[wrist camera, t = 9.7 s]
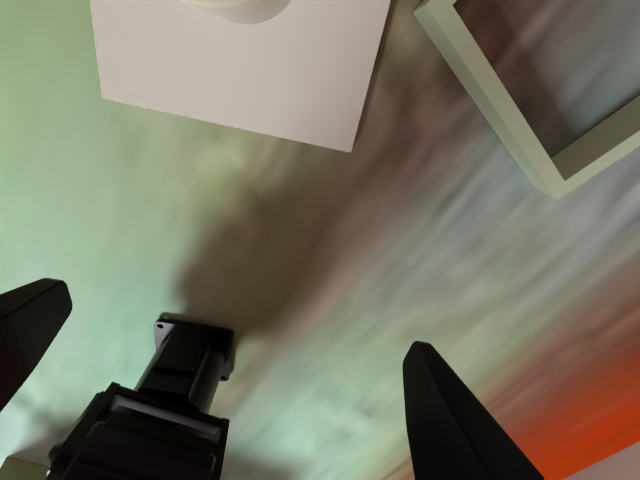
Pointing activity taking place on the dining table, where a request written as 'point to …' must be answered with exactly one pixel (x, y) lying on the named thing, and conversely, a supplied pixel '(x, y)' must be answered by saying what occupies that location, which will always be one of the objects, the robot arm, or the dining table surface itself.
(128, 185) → the dining table surface
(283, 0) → the pink plastic bottle
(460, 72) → the holder
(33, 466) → the grocery bag
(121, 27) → the plate
